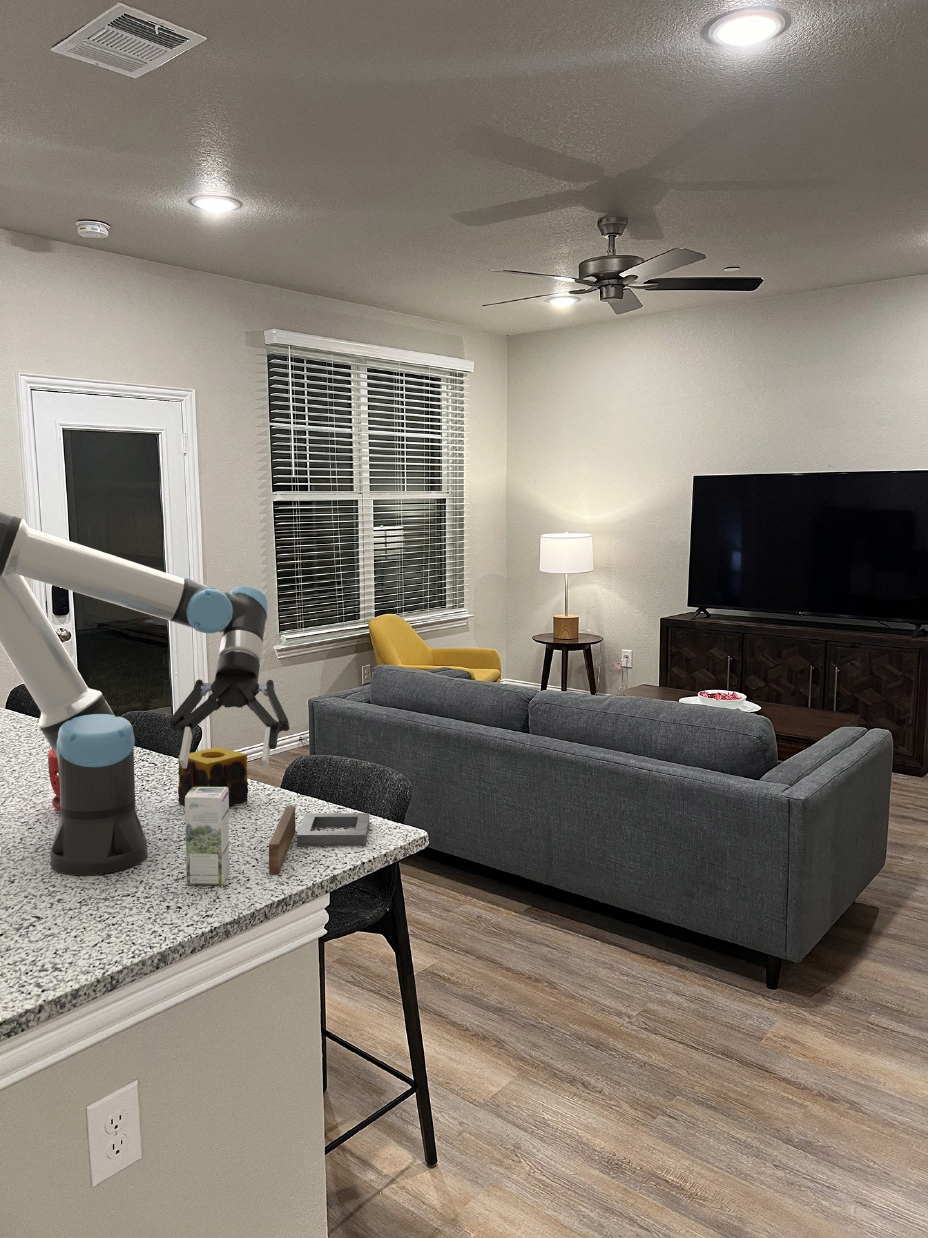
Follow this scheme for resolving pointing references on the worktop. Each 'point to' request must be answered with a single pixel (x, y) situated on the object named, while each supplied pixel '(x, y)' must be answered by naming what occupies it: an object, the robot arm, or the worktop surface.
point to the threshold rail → (281, 840)
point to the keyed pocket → (333, 838)
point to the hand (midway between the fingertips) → (223, 764)
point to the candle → (215, 773)
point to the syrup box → (207, 835)
